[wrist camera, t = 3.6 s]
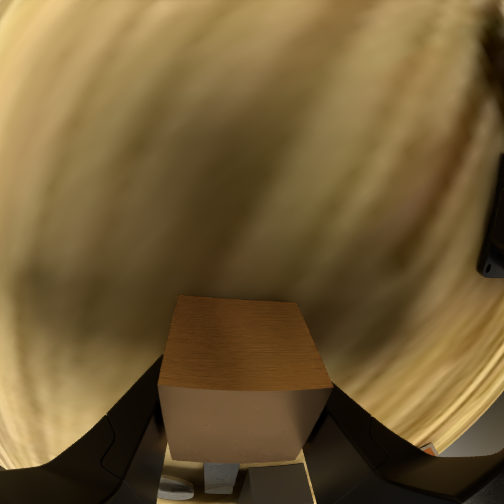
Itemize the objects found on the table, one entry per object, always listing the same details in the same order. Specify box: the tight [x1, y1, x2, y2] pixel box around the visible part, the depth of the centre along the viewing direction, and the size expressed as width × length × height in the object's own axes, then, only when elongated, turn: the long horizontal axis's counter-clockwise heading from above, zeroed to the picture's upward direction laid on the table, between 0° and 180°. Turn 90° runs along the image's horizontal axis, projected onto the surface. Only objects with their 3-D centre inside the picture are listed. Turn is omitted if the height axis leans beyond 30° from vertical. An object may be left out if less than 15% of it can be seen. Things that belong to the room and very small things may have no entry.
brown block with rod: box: [157, 295, 334, 494], centre depth 10 cm, size 4×17×4 cm, turn 173°
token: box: [157, 474, 194, 500], centre depth 15 cm, size 5×5×1 cm
